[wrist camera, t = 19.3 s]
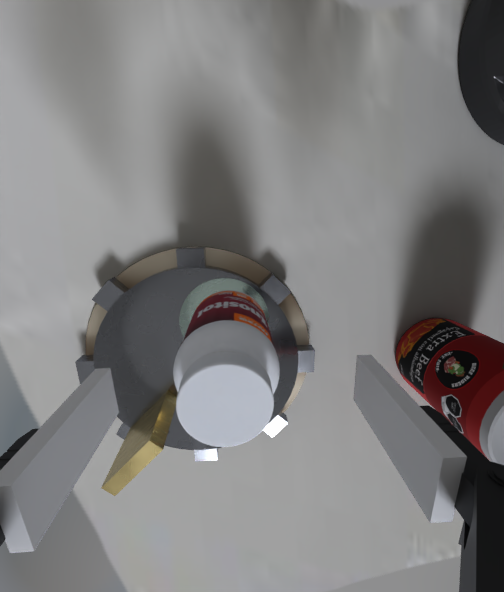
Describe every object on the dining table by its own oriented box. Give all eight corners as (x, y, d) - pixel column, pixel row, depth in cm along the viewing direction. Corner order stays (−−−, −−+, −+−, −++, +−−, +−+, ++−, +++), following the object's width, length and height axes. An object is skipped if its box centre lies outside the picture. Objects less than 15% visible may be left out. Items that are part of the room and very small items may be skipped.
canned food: (428, 300, 27) (555, 354, 16) (481, 342, 29) (628, 415, 18) (376, 360, 28) (462, 446, 18) (430, 397, 30) (537, 495, 19)
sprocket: (36, 367, 25) (-41, 427, 18) (188, 192, 22) (167, 180, 15) (209, 482, 30) (203, 564, 23) (354, 352, 27) (397, 400, 20)
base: (64, 251, 23) (63, 252, 23) (311, 242, 25) (312, 242, 24) (108, 454, 29) (107, 455, 29) (306, 438, 30) (307, 439, 30)
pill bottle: (269, 291, 23) (302, 353, 13) (260, 358, 25) (282, 462, 14) (194, 284, 23) (161, 343, 12) (189, 353, 24) (157, 458, 14)
